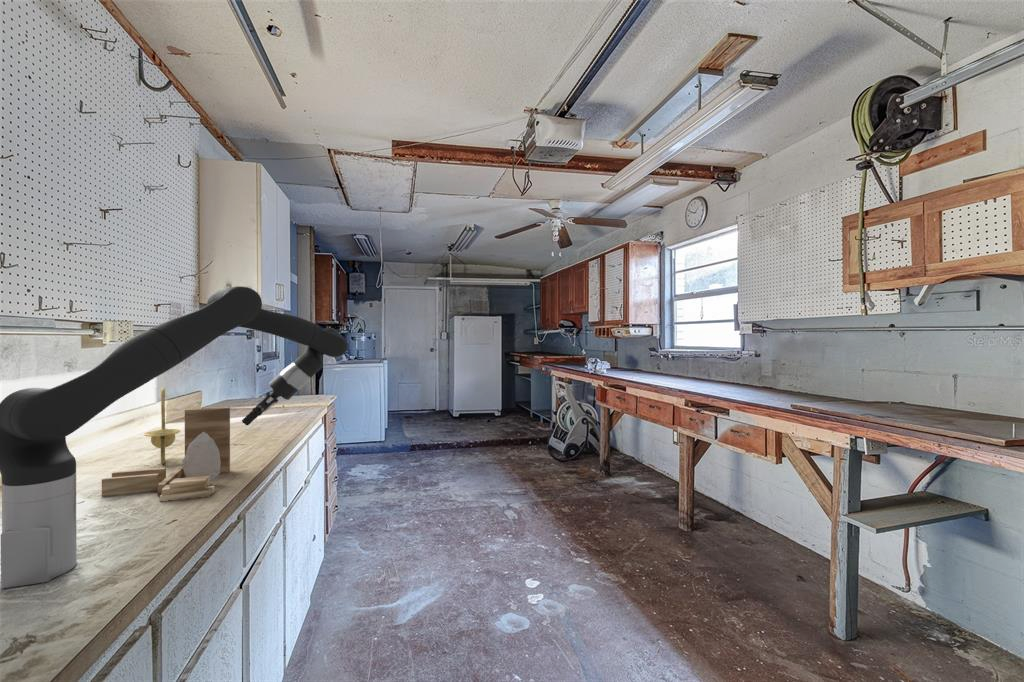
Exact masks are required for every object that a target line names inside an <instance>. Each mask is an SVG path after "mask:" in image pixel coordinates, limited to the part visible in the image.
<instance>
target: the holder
mask: <svg viewBox="0 0 1024 682" xmlns="http://www.w3.org/2000/svg"><path fill="white" fill-rule="evenodd" d="M166 477H167V467H156V468H144V469H143V468H142V469H134V470H132V469H131V470H121V471H120V470H119V471H113V472H111V477H103V478H101V497H110V496H111V497H112V496H120V495H121V496H122V495H130V494H139V493H141V494H143V493H152V492H151V491H153V492H158V484H159V483H160V482H162V481H163V480H164V479H165V478H166ZM142 492H143V493H142Z"/></svg>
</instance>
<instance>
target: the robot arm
mask: <svg viewBox="0 0 1024 682" xmlns="http://www.w3.org/2000/svg"><path fill="white" fill-rule="evenodd" d="M262 307H263V301H262V297H261V296H260V294H259V293H258V292H257V291H256V290H255V289H253V288H251V287H248V286H239V285H238V286H237V285H236V286H231V287H228V288H224V289H221V290H217V291H216V292H213V293H212V294H211V295H210V296H209V297H208V298H207V301H206V305H205V306H204V307H202V308H200V309H198V310H195V311H192V312H190V313H187V314H183V315H181V316H177V317H175V318H172V319H170V320H166V321H164V322H162V323H159V324H156V325H154V326H152V327H150V328H148V329H146V330H144V331H142V332H140V333H138V334H137V335H134V336H133V337H130V338H128V340H126V341H124V342H123V343H122V344H120V345H119V346H118V347H116V349H115V350H113V351H112V352H111V353H110V354H109V355H108V356H106V358H105V359H104V360H103V361H102V362H100V363H99V364H98V365H96V366H95V367H93V368H92V369H91V370H88V371H87V372H84V373H83V374H81V375H79V376H77V377H75V378H73V379H70V380H69V381H66V382H63V383H61V384H60V385H57V386H55V387H52V388H45V387H27V388H23V389H19V390H16V391H14V392H12V393H10V394H8V395H7V396H6V397H5V398H4V399H3V400H2V401H1V402H0V474H1V534H0V588H1V589H7V588H14V587H21V586H27V585H28V586H29V585H35V584H42V583H47V582H50V581H51V580H53V579H54V578H56V577H59V576H61V575H63V574H65V573H68V572H69V571H71V570H72V569H73V568H75V567H76V565H77V552H78V550H77V545H78V544H77V459H76V458H75V457H74V455H73V454H72V452H71V451H70V450H69V447H68V445H67V437H68V436H69V435H71V434H73V433H74V432H76V431H77V430H78V429H80V428H82V427H83V426H84V425H85V424H87V423H88V422H89V421H91V420H92V419H94V418H95V417H96V416H97V415H99V414H100V413H101V412H102V411H104V410H105V409H107V408H108V407H110V406H111V405H112V404H114V403H115V402H117V401H118V400H119V399H121V398H124V396H126V395H128V394H130V393H131V392H134V391H135V390H137V389H138V388H140V387H142V386H144V385H145V384H147V383H149V382H150V381H152V380H154V379H155V378H158V377H159V376H161V375H163V374H164V373H166V372H168V371H169V370H171V369H173V368H174V367H176V366H178V365H179V364H180V363H183V361H186V360H187V359H188V358H190V357H191V356H192V355H194V354H196V353H197V352H199V351H200V350H202V349H203V348H204V347H206V346H207V345H210V343H212V342H213V341H215V340H216V339H218V338H219V337H221V336H223V335H224V334H227V333H229V332H231V331H232V330H234V329H236V328H245V329H250V330H254V331H258V332H262V333H265V334H269V335H272V336H273V335H274V336H277V337H279V338H283V339H286V340H288V341H292V342H295V343H298V344H301V345H303V346H306V348H305V350H304V351H303V352H302V354H300V355H299V356H298V357H297V358H296V359H295V360H293V361H292V363H290V364H289V365H287V366H285V368H284V369H282V370H281V371H280V372H279V373H278V374H277V375H276V376H275V377H273V379H272V380H270V381H269V382H268V384H269V387H270V388H271V389H272V391H271V392H269V391H267V392H266V394H264V395H263V396H262V398H261V399H259V401H258V402H257V403H256V406H255V407H253V408H252V410H251V411H250V412H249V413H248V414H247V415H246V416H245V417H244V418H242V419H241V422H242V423H243V424H244V425H245V426H249V425H250V424H251V423H253V422H254V420H256V419H257V418H258V417H261V416H262V415H263V413H264V412H265V413H266V412H267V411H269V410H270V408H272V407H274V406H275V405H276V404H277V403H278V402H279V399H278V398H280V397H281V398H283V399H284V400H290V399H291V398H292V397H294V395H296V394H297V392H299V391H300V390H301V389H302V388H303V387H304V386H305V385H306V384H307V383H308V382H309V381H310V380H311V378H313V377H314V376H315V375H316V374H317V373H318V372H319V371H320V370H321V369H323V367H324V361H323V357H324V355H326V356H327V357H330V358H338V357H342V356H344V355H345V354H346V353H347V351H348V348H349V343H348V340H347V339H346V338H345V337H344V336H343V335H342V334H341V333H339V332H338V330H337V329H335V328H333V327H326V328H322V327H321V326H320V325H319V324H317V323H314V322H312V321H310V320H307V319H305V318H302V317H299V316H295V315H291V314H287V313H281V312H275V311H272V310H271V311H270V310H267V309H263V308H262Z"/></svg>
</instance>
